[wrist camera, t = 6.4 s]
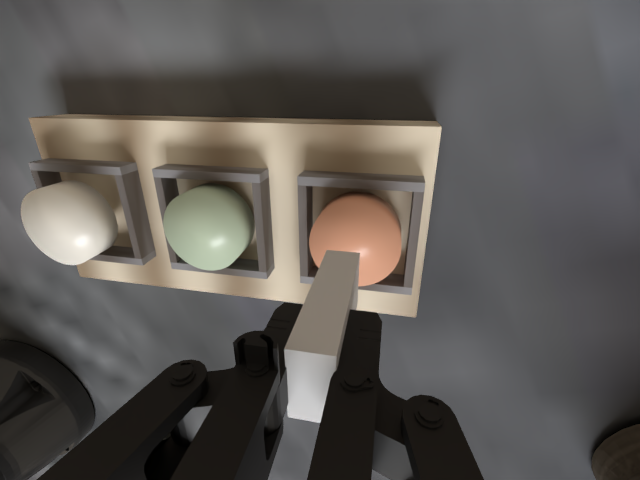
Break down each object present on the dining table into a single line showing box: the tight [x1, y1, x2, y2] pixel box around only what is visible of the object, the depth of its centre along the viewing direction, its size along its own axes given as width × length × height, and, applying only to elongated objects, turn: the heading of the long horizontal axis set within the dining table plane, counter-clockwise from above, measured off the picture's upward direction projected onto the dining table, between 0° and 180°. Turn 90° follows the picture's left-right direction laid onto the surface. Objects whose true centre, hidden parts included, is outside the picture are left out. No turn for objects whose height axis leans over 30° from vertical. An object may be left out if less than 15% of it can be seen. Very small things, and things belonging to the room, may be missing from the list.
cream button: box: [21, 180, 118, 265], centre depth 22 cm, size 5×5×2 cm
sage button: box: [163, 183, 255, 271], centre depth 22 cm, size 5×5×2 cm
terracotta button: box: [309, 192, 401, 286], centre depth 20 cm, size 5×5×2 cm
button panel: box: [28, 114, 442, 317], centre depth 24 cm, size 26×12×4 cm, turn 90°
